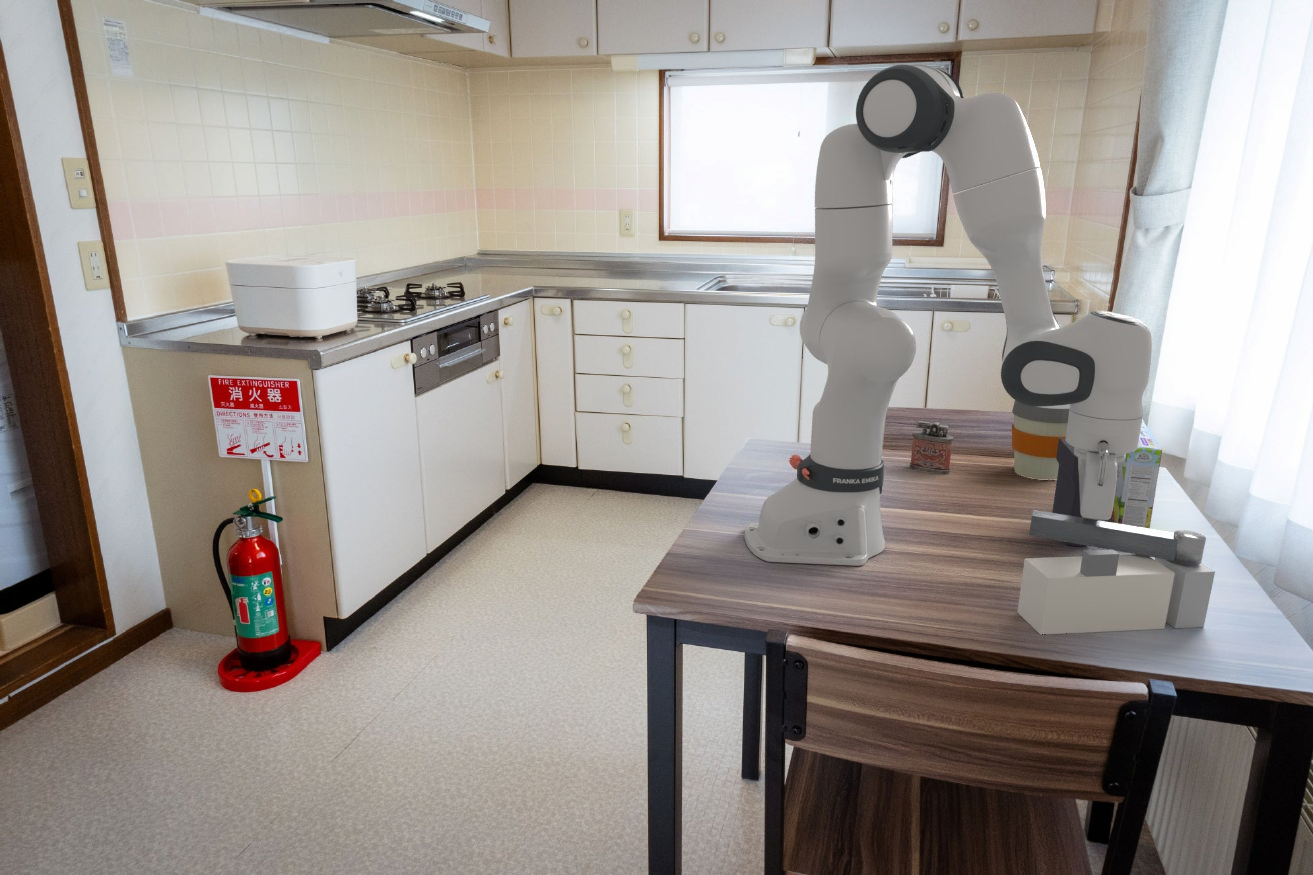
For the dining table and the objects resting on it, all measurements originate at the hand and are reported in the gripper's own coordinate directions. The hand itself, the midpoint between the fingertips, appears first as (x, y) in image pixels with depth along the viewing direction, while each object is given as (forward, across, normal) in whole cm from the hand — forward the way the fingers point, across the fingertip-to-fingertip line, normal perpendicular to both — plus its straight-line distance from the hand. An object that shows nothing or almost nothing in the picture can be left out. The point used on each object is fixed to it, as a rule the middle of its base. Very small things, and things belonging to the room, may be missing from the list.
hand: (1088, 527), depth 120 cm
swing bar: (+1, -3, -3) cm, 4 cm away
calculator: (+10, +22, +2) cm, 24 cm away
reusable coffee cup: (+10, +54, +7) cm, 55 cm away
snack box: (+10, +38, -7) cm, 40 cm away
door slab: (+10, -9, -1) cm, 13 cm away
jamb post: (+10, -3, -12) cm, 15 cm away
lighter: (+10, +47, +27) cm, 55 cm away
